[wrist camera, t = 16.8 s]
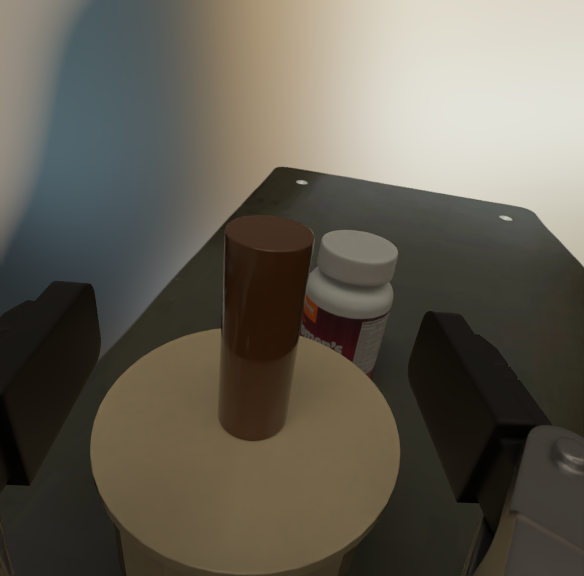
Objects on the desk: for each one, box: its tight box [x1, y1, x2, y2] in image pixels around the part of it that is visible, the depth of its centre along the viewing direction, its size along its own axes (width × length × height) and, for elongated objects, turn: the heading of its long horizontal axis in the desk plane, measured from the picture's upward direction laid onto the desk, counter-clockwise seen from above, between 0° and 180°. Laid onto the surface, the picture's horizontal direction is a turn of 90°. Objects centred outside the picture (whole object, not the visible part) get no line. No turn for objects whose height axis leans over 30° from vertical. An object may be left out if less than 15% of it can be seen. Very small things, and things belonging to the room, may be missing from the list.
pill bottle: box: [300, 230, 398, 379], centre depth 31 cm, size 6×6×11 cm
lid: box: [90, 215, 400, 576], centre depth 15 cm, size 12×12×9 cm
